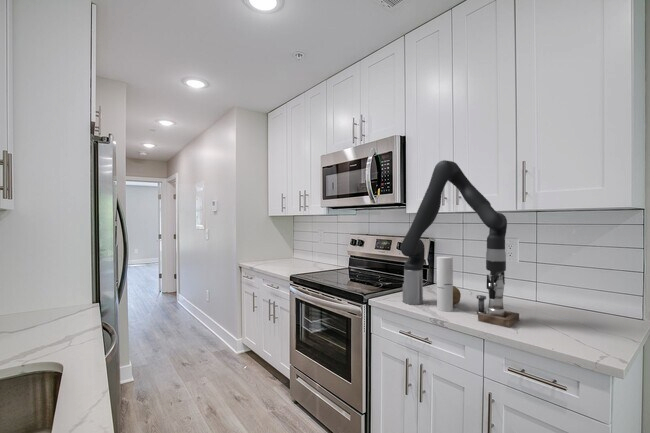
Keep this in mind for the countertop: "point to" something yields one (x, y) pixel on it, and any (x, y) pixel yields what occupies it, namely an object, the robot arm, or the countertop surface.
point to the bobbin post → (481, 304)
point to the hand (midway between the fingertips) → (495, 297)
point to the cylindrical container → (445, 283)
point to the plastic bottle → (497, 301)
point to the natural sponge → (456, 295)
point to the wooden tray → (500, 319)
